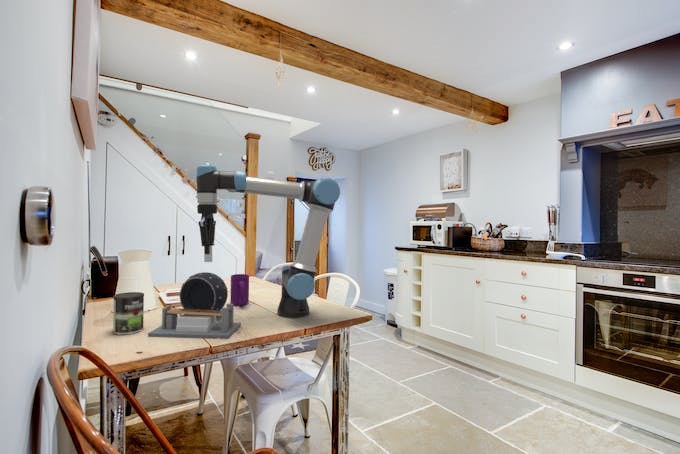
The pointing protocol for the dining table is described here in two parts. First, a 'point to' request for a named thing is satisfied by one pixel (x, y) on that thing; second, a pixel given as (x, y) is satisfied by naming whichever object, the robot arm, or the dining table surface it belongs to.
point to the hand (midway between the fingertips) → (208, 261)
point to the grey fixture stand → (196, 325)
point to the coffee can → (128, 313)
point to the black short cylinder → (203, 292)
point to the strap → (195, 311)
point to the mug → (239, 289)
